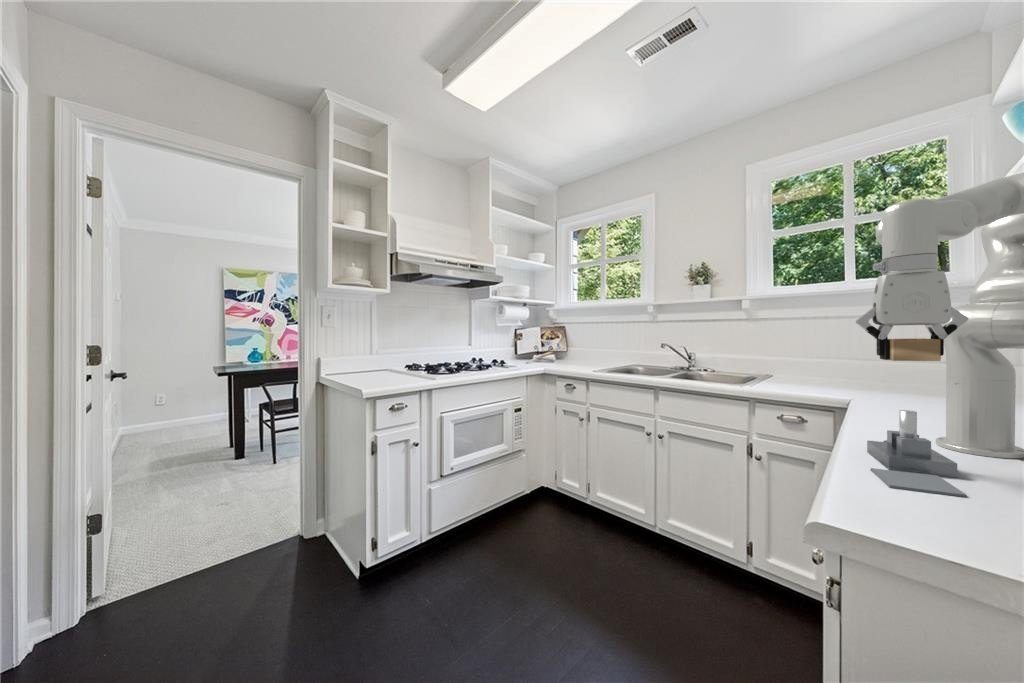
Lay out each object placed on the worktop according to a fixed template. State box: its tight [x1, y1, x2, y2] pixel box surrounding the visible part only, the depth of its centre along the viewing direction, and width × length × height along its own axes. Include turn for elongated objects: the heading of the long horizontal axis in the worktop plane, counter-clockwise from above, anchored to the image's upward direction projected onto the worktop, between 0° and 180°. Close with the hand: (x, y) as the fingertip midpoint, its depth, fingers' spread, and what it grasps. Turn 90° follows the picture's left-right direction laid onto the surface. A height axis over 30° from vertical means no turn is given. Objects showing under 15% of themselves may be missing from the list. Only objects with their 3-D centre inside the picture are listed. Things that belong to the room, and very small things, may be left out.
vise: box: [866, 409, 958, 478], centre depth 78 cm, size 17×9×10 cm, turn 152°
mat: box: [870, 467, 968, 498], centre depth 67 cm, size 9×9×1 cm
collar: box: [888, 337, 941, 362], centre depth 75 cm, size 6×6×4 cm
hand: (908, 358), depth 75 cm, fingers closed on collar, 6 cm apart
